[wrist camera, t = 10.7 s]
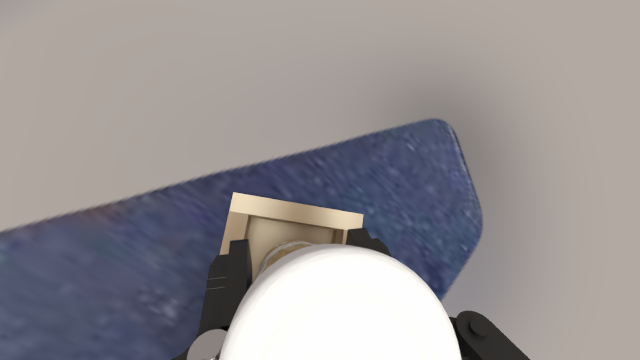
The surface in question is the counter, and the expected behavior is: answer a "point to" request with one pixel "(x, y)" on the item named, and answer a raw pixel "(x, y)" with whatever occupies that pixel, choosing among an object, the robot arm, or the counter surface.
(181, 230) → the counter surface
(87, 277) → the counter surface
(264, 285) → the sprinkles bottle
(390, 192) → the counter surface
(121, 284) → the counter surface
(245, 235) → the socket block
